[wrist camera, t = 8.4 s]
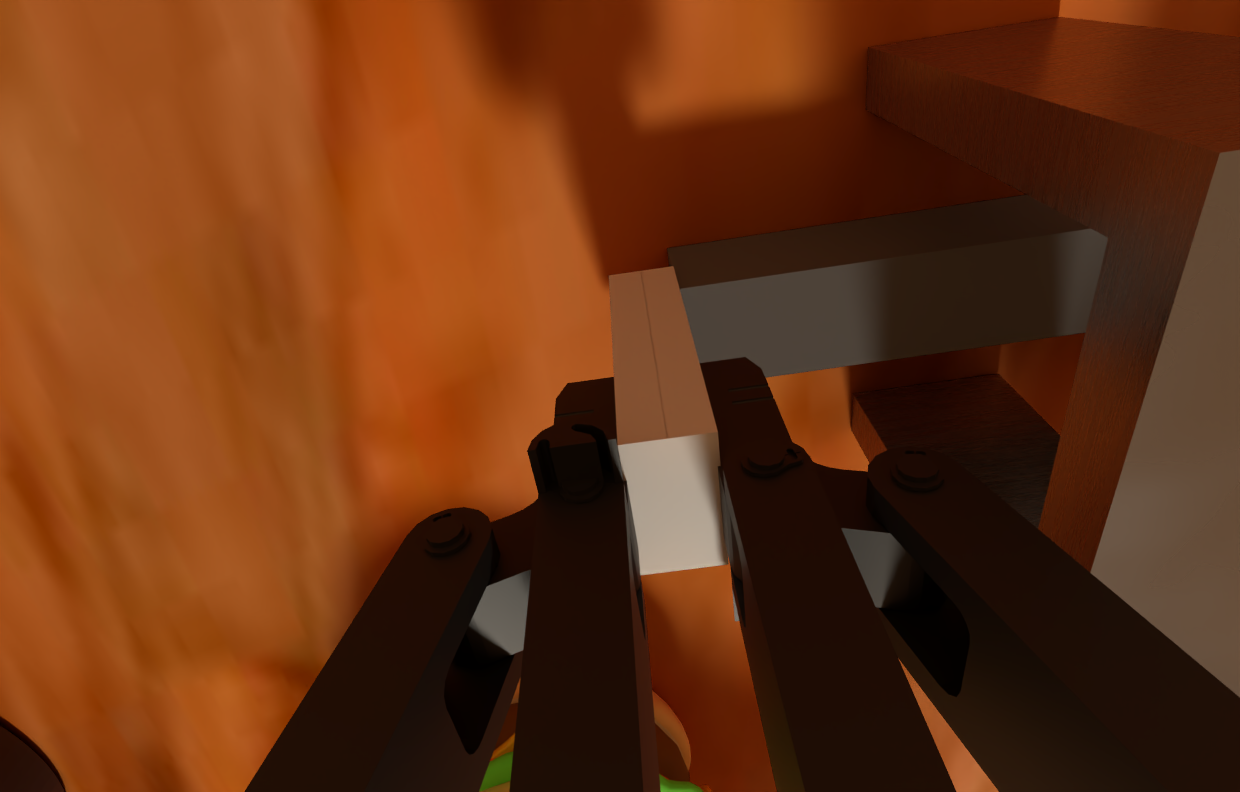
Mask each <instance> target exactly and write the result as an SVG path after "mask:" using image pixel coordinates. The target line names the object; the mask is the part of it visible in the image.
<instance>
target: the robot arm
mask: <svg viewBox="0 0 1240 792" xmlns="http://www.w3.org/2000/svg"><path fill="white" fill-rule="evenodd" d="M609 291H610V310H611V329H612V349H613V368H614V377H610V378H603V379H595V380H588V381H581V382H574V383H567V385H566V386H565V387H564V389H563V390H562V391H561V393H560V394H559V395H558V397H557V398H556V405H555V418H554V425H553V426H551V427H549V428H547V429H545V430H543V431H542V432H540V433H539V434H538V435H537V436H536V437H535V438H534V439H533V440H532V441H531V444H530V446H529V448H528V450H527V452H528V455H529V459H530V463H531V467H532V471H533V474H534V478H535V482H536V486H537V490H538V493H539V494H538V499H537V500H536V501H535V502H534V503H532V504H531V505H529V506H528V507H526V508H525V509H523V510H521V511H519V512H517V513H515V514H512V515H510V516H507V517H505V518H502V519H499V520H496V521H494V522H491V523H490V521H489V518H488V517H487V516H486V515H485V514H483V513H482V512H480V511H479V510H475V509H470V508H465V507H463V508H453V509H447V510H444V511H441V512H439V513H436V514H433V515H431V516H429V517H428V518H426V519H425V520H423V521H422V522H420V523H418V524H417V525H416V526H415V527H414V528H413V530H412V531H411V532H410V533H409V534H408V535H407V536H406V538H405V540H404V541H403V543H402V544H401V546H400V547H399V549H398V551H397V552H396V554H395V555H394V557H393V558H392V560H391V562H390V563H389V565H388V566H387V568H386V569H385V571H384V573H383V574H382V576H381V577H380V579H379V580H378V582H377V584H376V585H375V587H374V588H373V590H372V592H371V593H370V595H369V596H368V598H367V599H366V601H365V603H364V604H363V606H362V607H361V609H360V610H359V612H358V614H357V615H356V617H355V618H354V620H353V621H352V623H351V625H350V626H349V628H348V629H347V631H346V633H345V634H344V636H343V637H342V639H341V640H340V642H339V644H338V645H337V647H336V648H335V650H334V651H333V653H332V655H331V656H330V658H329V659H328V661H327V662H326V664H325V666H324V667H323V669H322V670H321V672H320V673H319V675H318V677H317V678H316V680H315V681H314V683H313V685H312V686H311V688H310V689H309V691H308V692H307V694H306V696H305V697H304V699H303V700H302V702H301V703H300V705H299V707H298V708H297V710H296V711H295V713H294V714H293V716H292V718H291V719H290V721H289V722H288V724H287V726H286V727H285V729H284V730H283V732H282V733H281V735H280V737H279V738H278V740H277V741H276V743H275V744H274V746H273V748H272V749H271V751H270V752H269V754H268V755H267V757H266V759H265V760H264V762H263V763H262V765H261V766H260V768H259V770H258V771H257V773H256V774H255V776H254V778H253V779H252V781H251V782H250V784H249V785H248V787H247V789H246V790H245V792H479V790H480V787H481V785H482V782H483V779H484V776H485V774H486V771H487V768H488V765H489V763H490V760H491V757H492V754H493V752H494V749H495V746H496V743H497V741H498V738H499V735H500V732H501V730H502V727H503V724H504V721H505V719H506V716H507V713H508V710H509V707H510V705H511V702H512V699H513V696H514V694H515V691H516V688H517V685H518V683H519V680H520V688H519V698H518V708H517V719H516V729H515V739H514V749H513V759H512V770H511V780H510V790H509V792H661V789H660V777H659V765H658V753H657V741H656V730H655V718H654V706H653V694H652V682H651V671H650V659H649V647H648V635H647V623H646V612H645V600H644V594H643V589H642V583H641V576H640V575H647V574H655V573H663V572H671V571H679V570H687V569H695V568H703V567H711V566H719V565H727V564H728V557H729V561H730V566H731V577H732V590H733V602H734V615H735V621H740V626H741V630H742V635H743V639H744V644H745V648H746V653H747V657H748V662H749V666H750V671H751V675H752V680H753V685H754V689H755V694H756V698H757V703H758V707H759V712H760V716H761V721H762V725H763V730H764V734H765V739H766V743H767V748H768V753H769V757H770V762H771V766H772V771H773V775H774V780H775V784H776V789H777V792H956V790H955V788H954V785H953V783H952V781H951V778H950V776H949V774H948V771H947V769H946V767H945V765H944V762H943V760H942V758H941V755H940V753H939V751H938V749H937V746H936V744H935V742H934V739H933V737H932V735H931V733H930V730H929V728H928V726H927V723H926V721H925V719H924V717H923V714H922V712H921V710H920V707H919V705H918V703H917V701H916V698H915V696H914V694H913V691H912V689H911V687H910V684H909V682H908V680H907V678H906V675H905V673H904V671H903V668H902V666H901V664H900V662H899V659H900V661H901V662H902V663H903V665H904V666H905V667H906V669H907V670H908V671H909V673H910V674H911V675H912V677H913V678H914V679H915V681H916V682H917V683H918V685H919V686H920V687H921V689H922V690H923V691H924V693H925V694H926V695H927V697H928V698H929V699H930V701H931V702H932V703H933V705H934V706H935V707H936V709H937V710H938V711H939V713H940V714H941V715H942V717H943V718H944V719H945V720H946V722H947V723H948V724H949V726H950V727H951V728H952V730H953V731H954V732H955V734H956V735H957V736H958V738H959V739H960V740H961V742H962V743H963V744H964V746H965V747H966V748H967V750H968V751H969V752H970V754H971V755H972V756H973V758H974V759H975V760H976V762H977V763H978V764H979V766H980V767H981V768H982V770H983V771H984V772H985V774H986V775H987V776H988V778H989V779H990V780H991V781H992V783H993V784H994V785H995V787H996V788H997V789H998V791H999V792H1240V697H1239V696H1238V695H1236V694H1235V693H1234V692H1233V691H1232V690H1230V689H1229V688H1228V687H1227V686H1226V685H1224V684H1223V683H1222V682H1221V681H1220V680H1218V679H1217V678H1216V677H1215V676H1214V675H1212V674H1211V673H1210V672H1209V671H1208V670H1206V669H1205V668H1204V667H1203V666H1202V665H1200V664H1199V663H1198V662H1197V661H1196V660H1194V659H1193V658H1192V657H1191V656H1190V655H1188V654H1187V653H1186V652H1185V651H1184V650H1182V649H1181V648H1180V647H1179V646H1178V645H1176V644H1175V643H1174V642H1173V641H1172V640H1170V639H1169V638H1168V637H1167V636H1166V635H1164V634H1163V633H1162V632H1161V631H1160V630H1158V629H1157V628H1156V627H1155V626H1154V625H1152V624H1151V623H1150V622H1149V621H1148V620H1146V619H1145V618H1144V617H1143V616H1142V615H1140V614H1139V613H1138V612H1137V611H1136V610H1134V609H1133V608H1132V607H1131V606H1130V605H1128V604H1127V603H1126V602H1125V601H1124V600H1122V599H1121V598H1120V597H1119V596H1118V595H1117V594H1115V593H1114V592H1113V591H1112V590H1111V589H1109V588H1108V587H1107V586H1106V585H1105V584H1103V583H1102V582H1101V581H1100V580H1099V579H1097V578H1096V577H1095V576H1094V575H1093V574H1091V573H1090V572H1089V571H1088V570H1087V569H1085V568H1084V567H1083V566H1082V565H1081V564H1079V563H1078V562H1077V561H1076V560H1075V559H1073V558H1072V557H1071V556H1070V555H1069V554H1067V553H1066V552H1065V551H1064V550H1063V549H1061V548H1060V547H1059V546H1058V545H1057V544H1055V543H1054V542H1053V541H1052V540H1051V539H1049V538H1048V537H1047V536H1046V535H1045V534H1043V533H1042V532H1041V531H1040V530H1039V529H1037V528H1036V527H1035V526H1034V525H1033V524H1031V523H1030V522H1029V521H1028V520H1027V519H1025V518H1024V517H1023V516H1022V515H1021V514H1019V513H1018V512H1017V511H1016V510H1015V509H1013V508H1012V507H1011V506H1010V505H1009V504H1007V503H1006V502H1005V501H1004V500H1003V499H1001V498H1000V497H999V496H998V495H997V494H995V493H994V492H993V491H992V490H991V489H990V488H988V487H987V486H986V485H985V484H984V483H982V482H981V481H980V480H979V479H978V478H976V477H975V476H974V475H973V474H972V473H970V472H969V471H968V470H967V469H966V468H964V467H963V466H962V465H961V464H960V463H958V462H957V461H955V460H954V459H952V458H950V457H949V456H947V455H945V454H944V453H941V452H937V451H934V450H931V449H927V448H921V447H907V446H906V447H900V448H893V449H888V450H886V451H884V452H882V453H880V454H878V455H876V456H875V457H874V458H873V460H872V461H871V462H870V463H869V465H868V472H865V471H853V470H842V469H836V468H829V467H826V466H823V465H820V464H817V463H814V462H813V461H812V460H811V458H810V456H809V455H808V454H807V453H806V451H805V450H804V449H803V448H802V447H800V446H798V445H797V444H795V443H793V442H792V440H791V438H790V436H789V433H788V431H787V428H786V426H785V424H784V421H783V419H782V416H781V414H780V412H779V409H778V407H777V404H776V402H775V400H774V399H773V395H772V392H771V390H770V388H769V387H768V383H767V380H766V378H765V376H764V373H763V371H762V369H761V368H760V367H759V366H757V365H756V364H755V363H753V362H752V361H750V360H749V359H748V358H746V357H741V358H733V359H726V360H719V361H712V362H705V363H699V360H698V356H697V352H696V349H695V345H694V341H693V337H692V334H691V330H690V326H689V322H688V319H687V315H686V311H685V307H684V304H683V300H682V296H681V293H680V289H679V285H678V281H677V278H676V274H675V270H674V266H671V267H664V268H657V269H650V270H643V271H636V272H629V273H622V274H616V275H609ZM898 658H899V659H898ZM520 677H521V678H520ZM0 792H64V790H63V787H62V785H61V784H60V782H59V780H58V779H57V777H56V776H55V774H54V773H53V771H52V770H51V769H50V768H49V766H48V765H47V764H46V763H45V762H44V761H43V760H42V759H41V758H40V757H39V756H38V755H37V754H36V753H35V752H34V751H33V750H32V749H31V748H30V747H28V746H27V745H26V744H25V743H23V742H22V741H21V740H20V739H18V738H17V737H16V736H14V735H13V734H12V733H10V732H9V731H7V730H6V729H4V728H3V727H1V726H0Z"/></svg>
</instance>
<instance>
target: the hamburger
mask: <svg viewBox="0 0 1240 792" xmlns="http://www.w3.org/2000/svg"><path fill="white" fill-rule="evenodd" d="M520 678H521V677H520ZM519 688H520V680H519V683H518V685H517V688H516V691H515V694H514V696H513V699H512V702H511V705H510V707H509V710H508V713H507V716H506V719H505V721H504V724H503V727H502V730H501V732H500V735H499V738H498V741H497V743H496V746H495V749H494V752H493V754H492V757H491V760H490V763H489V765H488V768H487V771H486V774H485V776H484V779H483V782H482V785H481V787H480V790H479V792H509V790H510V780H511V770H512V759H513V749H514V739H515V729H516V719H517V708H518V698H519ZM652 694H653V706H654V718H655V730H656V741H657V753H658V765H659V777H660V789H661V792H712V791H711V789H710V787H709V786H708V785H705V784H704V785H701V786H700V787H698V786H696V785H695V784H693V783H691V782H690V778H689V768H690V763H691V751H690V743H689V740H688V737H687V735H686V732H685V730H684V728H683V725H682V723H681V722H680V720H679V719H678V718H677V716H676V715H675V714H674V712H673V711H672V710H671V708H670V707H669V706H668V704H667V703H666V702H665V701H664V700H663V699H662V698H660V697H659V696H658V695H657V694H656V693H655V692H653V691H652Z"/></svg>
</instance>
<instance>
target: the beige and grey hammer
mask: <svg viewBox="0 0 1240 792" xmlns="http://www.w3.org/2000/svg"><path fill="white" fill-rule="evenodd" d="M1107 241H1108V237H1106V236H1104V235H1102V234H1100V233H1098V232H1096V231H1094V230H1093V229H1091V228H1089V227H1087V226H1085V225H1083V224H1081V223H1079V222H1077V221H1076V220H1074V219H1072V218H1070V217H1068V216H1066V215H1064V214H1062V213H1060V212H1059V211H1057V210H1055V209H1053V208H1051V207H1049V206H1047V205H1045V204H1043V203H1042V202H1040V201H1038V200H1036V199H1034V198H1032V197H1030V196H1028V195H1021V196H1015V197H1008V198H1001V199H994V200H988V201H981V202H974V203H968V204H961V205H954V206H948V207H941V208H934V209H927V210H921V211H914V212H907V213H901V214H894V215H887V216H881V217H874V218H867V219H860V220H854V221H847V222H840V223H834V224H827V225H820V226H814V227H807V228H800V229H793V230H787V231H780V232H773V233H767V234H760V235H753V236H747V237H740V238H733V239H726V240H720V241H713V242H706V243H700V244H693V245H686V246H680V247H673V248H667V251H668V260H669V267H671V266H674V270H675V274H676V278H677V281H678V285H679V289H680V293H681V296H682V300H683V304H684V307H685V311H686V315H687V319H688V322H689V326H690V330H691V334H692V337H693V341H694V345H695V349H696V352H697V356H698V360H699V363H705V362H712V361H719V360H726V359H733V358H741V357H746V358H748V359H749V360H750V361H752V362H753V363H755V364H756V365H757V366H759V367H760V368H761V369H762V371H763V373H764V376H765V377H772V376H779V375H786V374H794V373H801V372H808V371H815V370H822V369H829V368H836V367H843V366H851V365H858V364H865V363H872V362H879V361H886V360H893V359H900V358H908V357H915V356H922V355H929V354H936V353H943V352H950V351H957V350H964V349H972V348H979V347H986V346H993V345H1000V344H1007V343H1014V342H1021V341H1029V340H1036V339H1043V338H1050V337H1057V336H1064V335H1071V334H1078V333H1085V332H1086V328H1087V324H1088V320H1089V316H1090V311H1091V307H1092V303H1093V299H1094V295H1095V291H1096V286H1097V282H1098V278H1099V274H1100V270H1101V266H1102V262H1103V257H1104V253H1105V249H1106V245H1107Z"/></svg>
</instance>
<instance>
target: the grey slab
mask: <svg viewBox="0 0 1240 792" xmlns="http://www.w3.org/2000/svg"><path fill="white" fill-rule="evenodd" d="M866 110H868V111H870V112H871V113H873V114H875V115H877V116H879V117H881V118H883V119H885V120H887V121H888V122H890V123H892V124H894V125H896V126H898V127H900V128H902V129H904V130H905V131H907V132H909V133H911V134H913V135H915V136H917V137H919V138H921V139H922V140H924V141H926V142H928V143H930V144H932V145H934V146H936V147H938V148H939V149H941V150H943V151H945V152H947V153H949V154H951V155H953V156H955V157H956V158H958V159H960V160H962V161H964V162H966V163H968V164H970V165H972V166H974V167H975V168H977V169H979V170H981V171H983V172H985V173H987V174H989V175H991V176H992V177H994V178H996V179H998V180H1000V181H1002V182H1004V183H1006V184H1008V185H1009V186H1011V187H1013V188H1015V189H1017V190H1019V191H1021V192H1023V193H1025V194H1026V195H1028V196H1030V197H1032V198H1034V199H1036V200H1038V201H1040V202H1042V203H1043V204H1045V205H1047V206H1049V207H1051V208H1053V209H1055V210H1057V211H1059V212H1060V213H1062V214H1064V215H1066V216H1068V217H1070V218H1072V219H1074V220H1076V221H1077V222H1079V223H1081V224H1083V225H1085V226H1087V227H1089V228H1091V229H1093V230H1094V231H1096V232H1098V233H1100V234H1102V235H1104V236H1106V237H1108V241H1107V245H1106V249H1105V253H1104V257H1103V262H1102V266H1101V270H1100V274H1099V278H1098V282H1097V286H1096V291H1095V295H1094V299H1093V303H1092V307H1091V311H1090V316H1089V320H1088V324H1087V328H1086V332H1085V336H1084V340H1083V345H1082V349H1081V353H1080V357H1079V361H1078V365H1077V370H1076V374H1075V378H1074V382H1073V386H1072V390H1071V394H1070V399H1069V403H1068V407H1067V411H1066V415H1065V419H1064V424H1063V428H1062V432H1061V436H1060V435H1059V434H1058V433H1057V432H1056V431H1055V430H1054V429H1053V428H1052V427H1051V426H1050V425H1049V424H1048V423H1047V422H1046V421H1045V420H1044V419H1043V418H1042V417H1041V416H1040V415H1039V414H1038V413H1037V412H1036V411H1035V410H1034V409H1033V408H1032V407H1031V406H1030V405H1029V404H1028V403H1027V402H1026V401H1025V400H1024V399H1023V398H1022V397H1021V396H1020V395H1019V394H1018V393H1017V392H1016V391H1015V390H1014V389H1013V388H1012V387H1011V386H1010V385H1009V384H1008V383H1007V382H1006V381H1005V380H1004V379H1003V378H1002V377H1001V376H1000V375H999V374H994V375H987V376H980V377H972V378H965V379H958V380H950V381H943V382H936V383H928V384H921V385H914V386H907V387H899V388H892V389H885V390H877V391H870V392H863V393H855V394H853V405H852V428H851V431H852V432H853V434H854V436H855V438H856V439H857V441H858V443H859V445H860V447H861V448H862V450H863V452H864V454H865V456H866V457H867V459H868V461H869V463H870V462H871V461H872V460H873V458H874V457H875V456H876V455H878V454H880V453H882V452H884V451H886V450H888V449H893V448H900V447H906V446H907V447H921V448H927V449H931V450H934V451H937V452H941V453H944V454H945V455H947V456H949V457H950V458H952V459H954V460H955V461H957V462H958V463H960V464H961V465H962V466H963V467H964V468H966V469H967V470H968V471H969V472H970V473H972V474H973V475H974V476H975V477H976V478H978V479H979V480H980V481H981V482H982V483H984V484H985V485H986V486H987V487H988V488H990V489H991V490H992V491H993V492H994V493H995V494H997V495H998V496H999V497H1000V498H1001V499H1003V500H1004V501H1005V502H1006V503H1007V504H1009V505H1010V506H1011V507H1012V508H1013V509H1015V510H1016V511H1017V512H1018V513H1019V514H1021V515H1022V516H1023V517H1024V518H1025V519H1027V520H1028V521H1029V522H1030V523H1031V524H1033V525H1034V526H1035V527H1036V528H1037V529H1039V530H1040V531H1041V532H1042V533H1043V534H1045V535H1046V536H1047V537H1048V538H1049V539H1051V540H1052V541H1053V542H1054V543H1055V544H1057V545H1058V546H1059V547H1060V548H1061V549H1063V550H1064V551H1065V552H1066V553H1067V554H1069V555H1070V556H1071V557H1072V558H1073V559H1075V560H1076V561H1077V562H1078V563H1079V564H1081V565H1082V566H1083V567H1084V568H1085V569H1087V570H1088V571H1089V572H1090V573H1091V574H1093V575H1094V576H1095V577H1096V578H1097V579H1099V580H1100V581H1101V582H1102V583H1103V584H1105V585H1106V586H1107V587H1108V588H1109V589H1111V590H1112V591H1113V592H1114V593H1115V594H1117V595H1118V596H1119V597H1120V598H1121V599H1122V600H1124V601H1125V602H1126V603H1127V604H1128V605H1130V606H1131V607H1132V608H1133V609H1134V610H1136V611H1137V612H1138V613H1139V614H1140V615H1142V616H1143V617H1144V618H1145V619H1146V620H1148V621H1149V622H1150V623H1151V624H1152V625H1154V626H1155V627H1156V628H1157V629H1158V630H1160V631H1161V632H1162V633H1163V634H1164V635H1166V636H1167V637H1168V638H1169V639H1170V640H1172V641H1173V642H1174V643H1175V644H1176V645H1178V646H1179V647H1180V648H1181V649H1182V650H1184V651H1185V652H1186V653H1187V654H1188V655H1190V656H1191V657H1192V658H1193V659H1194V660H1196V661H1197V662H1198V663H1199V664H1200V665H1202V666H1203V667H1204V668H1205V669H1206V670H1208V671H1209V672H1210V673H1211V674H1212V675H1214V676H1215V677H1216V678H1217V679H1218V680H1220V681H1221V682H1222V683H1223V684H1224V685H1226V686H1227V687H1228V688H1229V689H1230V690H1232V691H1233V692H1234V693H1235V694H1236V695H1238V696H1239V697H1240V37H1233V36H1224V35H1215V34H1206V33H1197V32H1189V31H1180V30H1171V29H1162V28H1153V27H1144V26H1136V25H1127V24H1118V23H1109V22H1100V21H1092V20H1083V19H1074V18H1065V17H1057V18H1050V19H1044V20H1038V21H1031V22H1025V23H1019V24H1012V25H1006V26H1000V27H993V28H987V29H981V30H974V31H968V32H962V33H955V34H949V35H943V36H936V37H930V38H924V39H917V40H911V41H905V42H898V43H892V44H886V45H879V46H873V47H868V68H867V91H866Z"/></svg>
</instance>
